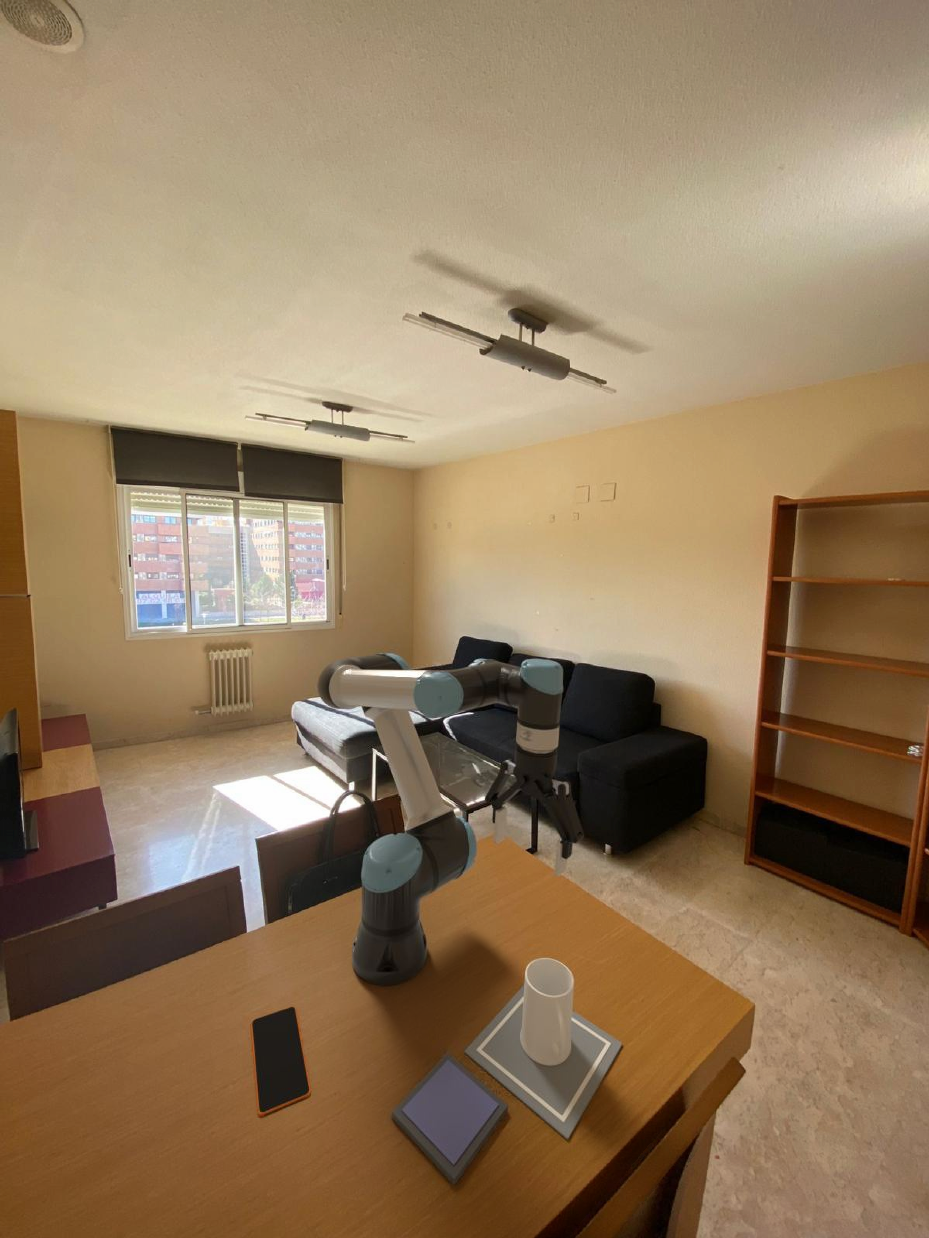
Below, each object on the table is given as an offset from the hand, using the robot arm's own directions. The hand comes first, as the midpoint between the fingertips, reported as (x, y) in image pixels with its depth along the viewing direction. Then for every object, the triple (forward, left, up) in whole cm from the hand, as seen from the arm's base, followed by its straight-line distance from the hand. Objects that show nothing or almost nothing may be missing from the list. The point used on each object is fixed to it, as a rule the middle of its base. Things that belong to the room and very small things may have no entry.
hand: (528, 855), depth 93 cm
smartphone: (-22, -38, -27) cm, 51 cm away
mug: (+11, -8, -27) cm, 30 cm away
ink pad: (+5, -26, -27) cm, 37 cm away
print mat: (+10, -8, -27) cm, 29 cm away
